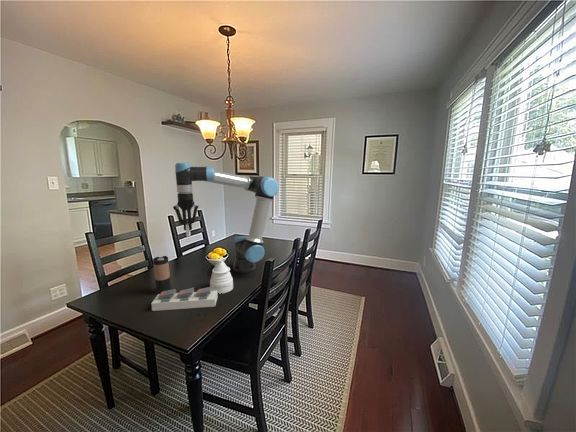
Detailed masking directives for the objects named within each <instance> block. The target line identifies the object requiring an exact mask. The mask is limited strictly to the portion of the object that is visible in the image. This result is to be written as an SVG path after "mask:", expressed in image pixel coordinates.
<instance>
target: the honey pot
mask: <svg viewBox="0 0 576 432" xmlns="http://www.w3.org/2000/svg"><path fill="white" fill-rule="evenodd" d="M230 271H231V268H230V267H229V266H227V264H226V263H225V262H224V261H223V259H217V262H216V264H215V266H214V268H212V271H211V272H212V273H211V277H210V280H209V287H212V291H217V295H219V294H220V295H221V293H222V294H226V293H229V292H231V291H232V290H233V289H234V279H233V276H232V274H231V272H230ZM218 293H219V294H218Z"/></svg>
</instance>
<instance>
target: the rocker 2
mask: <svg viewBox="0 0 576 432" xmlns="http://www.w3.org/2000/svg"><path fill="white" fill-rule="evenodd" d="M211 291H212V287H210V286H209V287H208V286H207V287H203V288H198V289H197V291H196V292H197V293H196V297H199V296H203V295H207V294H210V293H211Z"/></svg>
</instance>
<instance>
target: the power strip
mask: <svg viewBox="0 0 576 432" xmlns="http://www.w3.org/2000/svg"><path fill="white" fill-rule="evenodd" d="M178 293H179V292H176V293H175V295H174V296H172V297H168V298H163V299H159V297H158V296H159V295H160V294H157V295H156V297H155V298H154V299H153V301H152V302H151V303H150V305H151V311H152V312H157V311H159V312H160V311H171V310H185V309H199V308H200V309H201V308H213V307H216V305H217V301H218V296H219V294H217V291H211V293H210V294H207V295H203V296H199V297H196V293H197V291H194V292H193V294H192V295H189V296H186V297H182V298H178V297H177V295H178Z"/></svg>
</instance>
